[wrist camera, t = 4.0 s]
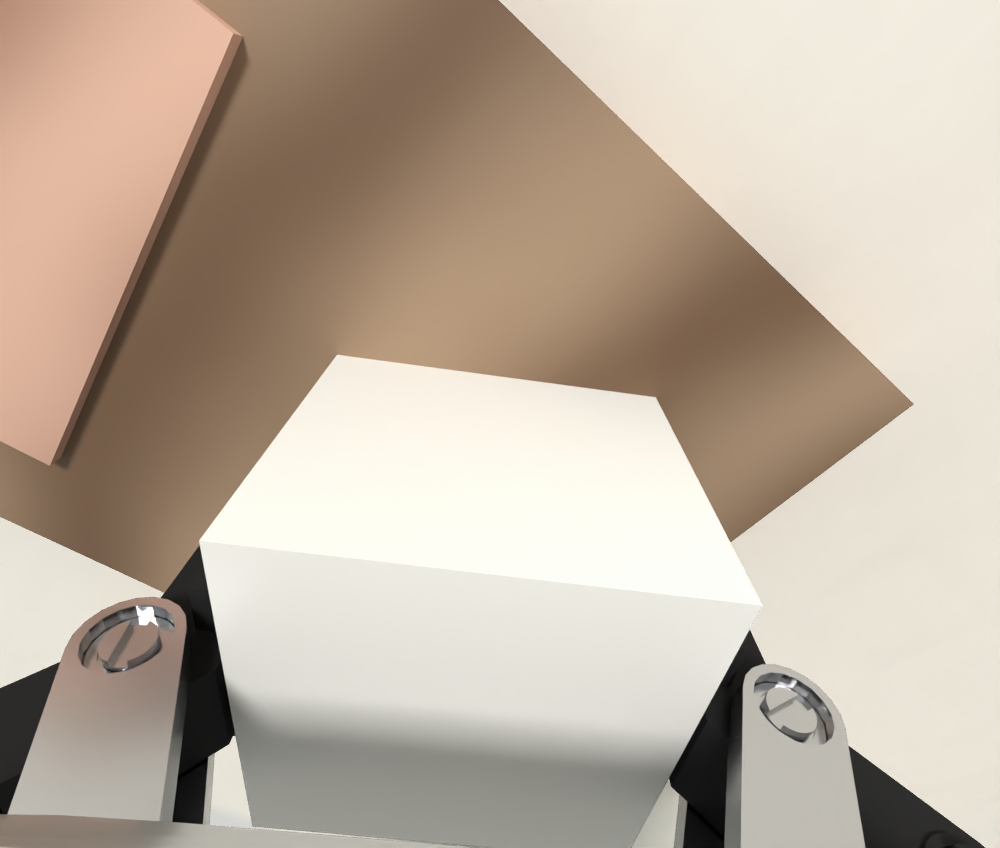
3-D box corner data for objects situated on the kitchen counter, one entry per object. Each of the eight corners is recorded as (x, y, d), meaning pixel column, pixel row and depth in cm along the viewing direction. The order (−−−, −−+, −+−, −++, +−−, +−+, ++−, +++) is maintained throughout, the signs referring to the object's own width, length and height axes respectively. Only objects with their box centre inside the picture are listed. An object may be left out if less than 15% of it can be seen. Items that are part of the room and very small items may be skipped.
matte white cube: (655, 397, 10) (763, 605, 6) (587, 614, 13) (624, 859, 9) (336, 354, 10) (199, 540, 6) (340, 586, 13) (252, 826, 8)
